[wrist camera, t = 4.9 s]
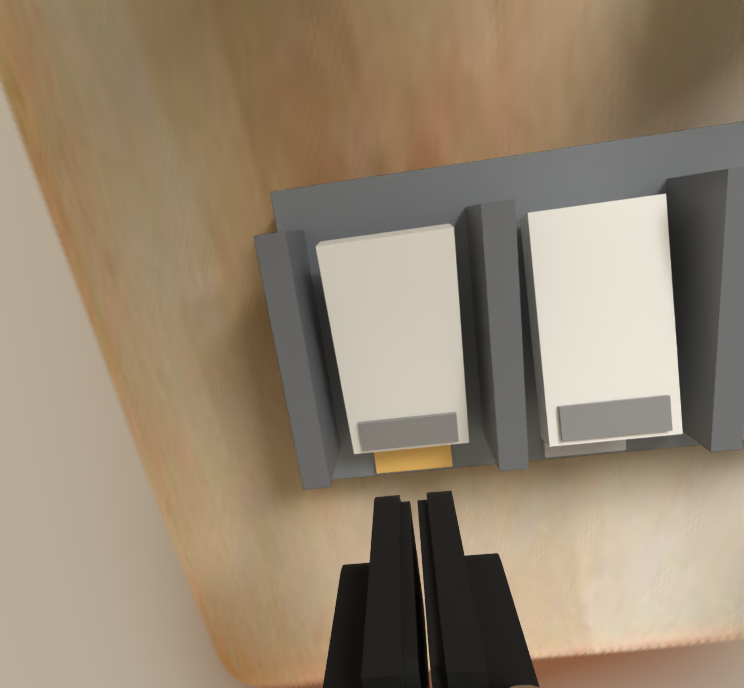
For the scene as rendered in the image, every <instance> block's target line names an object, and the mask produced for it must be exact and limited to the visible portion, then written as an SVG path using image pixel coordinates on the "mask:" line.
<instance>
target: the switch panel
mask: <svg viewBox="0 0 744 688" xmlns="http://www.w3.org/2000/svg"><path fill="white" fill-rule="evenodd" d="M270 194H271V200H272V205H273V211H274V216H275V222H276V227H277V233H270V234H263V235H256V236H254V241H255V246H256V251H257V256H258V261H259V266H260V272H261V277H262V282H263V287H264V292H265V297H266V302H267V307H268V312H269V317H270V322H271V327H272V333H273V338H274V343H275V348H276V353H277V358H278V363H279V368H280V373H281V378H282V383H283V388H284V393H285V399H286V404H287V409H288V414H289V419H290V424H291V429H292V434H293V439H294V444H295V449H296V454H297V459H298V465H299V470H300V475H301V480H302V485H303V490H306V489H317V488H328V487H331V484H332V480H333V479H343V478H354V477H365V476H375V475H386V474H396V473H407V472H418V471H428V470H439V469H449V468H460V467H471V466H481V465H492V464H497V466H498V469H499V471H511V470H521V469H529V461H534V460H545V459H555V458H566V457H577V456H587V455H598V454H609V453H619V452H630V451H640V450H651V449H662V448H672V447H683V446H693V445H702V446H703V447H705V448H706V449H708V450H709V451H710V452H715V451H726V450H737V449H742V447H743V441H744V121H742V122H736V123H729V124H722V125H716V126H709V127H702V128H696V129H689V130H682V131H675V132H669V133H662V134H655V135H649V136H642V137H635V138H628V139H622V140H615V141H608V142H602V143H595V144H588V145H581V146H575V147H568V148H561V149H555V150H548V151H541V152H535V153H528V154H521V155H514V156H508V157H501V158H494V159H488V160H481V161H474V162H467V163H461V164H454V165H447V166H441V167H434V168H427V169H421V170H414V171H407V172H400V173H394V174H387V175H380V176H374V177H367V178H360V179H353V180H347V181H340V182H333V183H327V184H320V185H313V186H307V187H300V188H293V189H286V190H280V191H273V192H270ZM660 194H666V202H667V216H668V230H669V244H670V259H671V273H672V287H673V302H674V316H675V330H676V344H677V359H678V373H679V387H680V401H681V416H682V430H683V434H677V435H666V436H656V437H646V438H635V439H625V440H614V441H604V442H594V443H583V444H573V445H563V446H552V447H550V446H549V445H548V444H547V443H546V442H544V441H543V440H542V439H541V432H540V422H539V411H538V401H537V391H536V380H535V370H534V359H533V349H532V339H531V328H530V318H529V307H528V297H527V287H526V276H525V266H524V255H523V245H522V235H521V224H520V218H521V217H523V216H524V215H525V214H527V213H530V212H537V211H544V210H551V209H559V208H566V207H573V206H580V205H587V204H595V203H602V202H609V201H616V200H624V199H631V198H638V197H645V196H652V195H660ZM443 224H451V225H452V226H453V227H454V237H455V251H456V265H457V279H458V293H459V307H460V321H461V335H462V349H463V363H464V378H465V392H466V406H467V420H468V434H469V443H461V444H451V445H441V446H431V447H421V448H411V449H401V450H390V451H380V452H370V453H360V454H354V451H353V445H352V440H351V435H350V429H349V424H348V419H347V413H346V408H345V402H344V397H343V392H342V386H341V381H340V375H339V370H338V365H337V359H336V354H335V348H334V343H333V338H332V332H331V327H330V322H329V316H328V311H327V305H326V300H325V295H324V289H323V284H322V278H321V273H320V268H319V262H318V257H317V251H316V246H317V244H318V243H319V242H320V241H327V240H334V239H342V238H349V237H356V236H363V235H371V234H378V233H385V232H392V231H399V230H407V229H414V228H421V227H428V226H436V225H443Z"/></svg>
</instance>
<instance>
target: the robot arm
mask: <svg viewBox="0 0 744 688" xmlns="http://www.w3.org/2000/svg"><path fill="white" fill-rule="evenodd" d="M418 514H419V527H420V540H421V553H422V566H423V580H424V593H425V606H426V619H427V633H428V646H429V658H430V669H431V678H432V687H433V688H540V687H539V684H538V681H537V678H536V674H535V671H534V668H533V664H532V661H531V658H530V654H529V651H528V648H527V645H526V641H525V638H524V635H523V631H522V628H521V625H520V622H519V618H518V615H517V612H516V608H515V605H514V602H513V598H512V595H511V592H510V589H509V585H508V582H507V579H506V575H505V572H504V569H503V566H502V562H501V559H500V557H499V555H498V553H495V554H482V555H469V556H464V551H463V546H462V541H461V536H460V531H459V526H458V521H457V516H456V511H455V506H454V501H453V496H452V492H451V491H442V492H430V493H427V500H418ZM323 688H430V687H429V672H428V658H427V644H426V630H425V616H424V606H423V597H422V590H421V582H420V574H419V567H418V559H417V551H416V544H415V536H414V528H413V521H412V513H411V506H410V501H407V502H401V500H400V496H399V495H396V496H384V497H375V500H374V512H373V525H372V538H371V552H370V563H361V564H348V565H343V567H342V569H341V574H340V580H339V587H338V593H337V600H336V606H335V613H334V619H333V626H332V632H331V638H330V645H329V651H328V658H327V664H326V671H325V677H324V684H323Z"/></svg>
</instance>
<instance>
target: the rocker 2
mask: <svg viewBox="0 0 744 688" xmlns="http://www.w3.org/2000/svg"><path fill="white" fill-rule="evenodd" d="M520 224H521V235H522V245H523V255H524V266H525V276H526V287H527V297H528V307H529V318H530V328H531V339H532V349H533V359H534V370H535V380H536V391H537V401H538V411H539V422H540V432H541V439H542V440H543V441H544V442H546V443H547V444H548V445H549V446H550V447H552V446H563V445H573V444H583V443H594V442H604V441H614V440H625V439H635V438H646V437H656V436H666V435H677V434H683V430H682V416H681V401H680V387H679V373H678V359H677V344H676V330H675V316H674V302H673V287H672V273H671V259H670V244H669V230H668V216H667V202H666V194H660V195H652V196H645V197H638V198H631V199H624V200H616V201H609V202H602V203H595V204H587V205H580V206H573V207H566V208H559V209H551V210H544V211H537V212H530V213H527V214H525V215H524V216H523V217H521V218H520Z"/></svg>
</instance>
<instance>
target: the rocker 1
mask: <svg viewBox="0 0 744 688" xmlns="http://www.w3.org/2000/svg"><path fill="white" fill-rule="evenodd" d="M316 251H317V257H318V262H319V268H320V273H321V278H322V284H323V289H324V295H325V300H326V305H327V311H328V316H329V322H330V327H331V332H332V338H333V343H334V348H335V354H336V359H337V365H338V370H339V375H340V381H341V386H342V392H343V397H344V402H345V408H346V413H347V419H348V424H349V429H350V435H351V440H352V445H353V451H354V454H360V453H370V452H380V451H390V450H401V449H411V448H421V447H431V446H441V445H451V444H461V443H469V434H468V420H467V406H466V392H465V378H464V363H463V349H462V335H461V321H460V307H459V293H458V279H457V265H456V251H455V237H454V227H453V226H452V225H451V224H443V225H436V226H428V227H421V228H414V229H407V230H399V231H392V232H385V233H378V234H371V235H363V236H356V237H349V238H342V239H334V240H327V241H320V242H319V243H318V244H317V246H316Z"/></svg>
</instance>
